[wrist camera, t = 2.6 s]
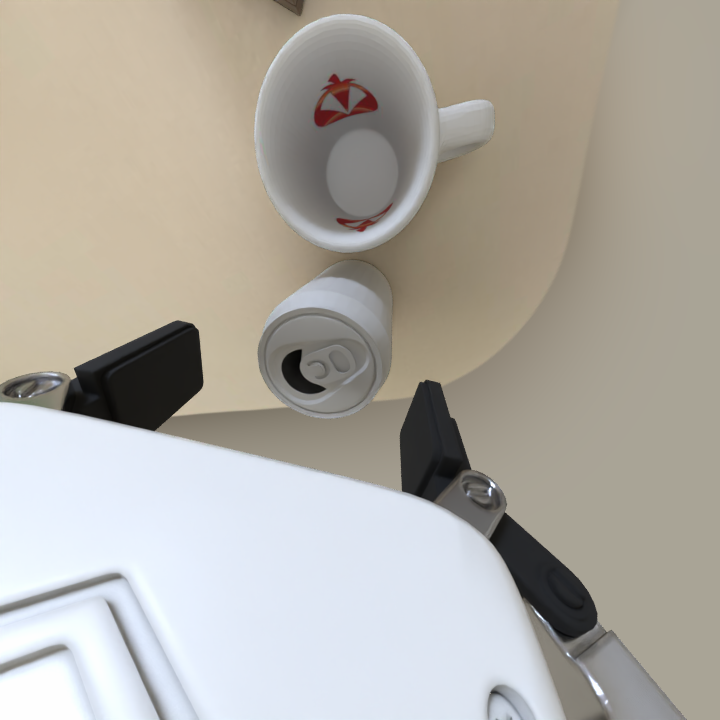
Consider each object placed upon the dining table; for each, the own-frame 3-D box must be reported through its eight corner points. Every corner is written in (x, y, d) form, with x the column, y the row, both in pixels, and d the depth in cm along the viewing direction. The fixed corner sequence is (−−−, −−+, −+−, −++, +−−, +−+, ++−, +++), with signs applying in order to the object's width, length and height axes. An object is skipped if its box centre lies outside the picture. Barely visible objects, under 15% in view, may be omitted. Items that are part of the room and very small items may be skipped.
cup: (465, 62, 15) (527, -77, 8) (469, 217, 18) (515, 217, 11) (290, 122, 17) (218, 56, 10) (324, 251, 21) (288, 268, 14)
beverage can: (303, 279, 22) (218, 335, 11) (373, 243, 20) (350, 270, 9) (338, 344, 24) (296, 439, 14) (404, 317, 22) (413, 404, 12)
